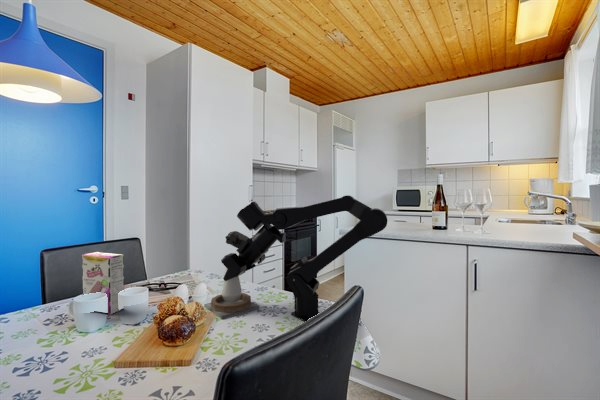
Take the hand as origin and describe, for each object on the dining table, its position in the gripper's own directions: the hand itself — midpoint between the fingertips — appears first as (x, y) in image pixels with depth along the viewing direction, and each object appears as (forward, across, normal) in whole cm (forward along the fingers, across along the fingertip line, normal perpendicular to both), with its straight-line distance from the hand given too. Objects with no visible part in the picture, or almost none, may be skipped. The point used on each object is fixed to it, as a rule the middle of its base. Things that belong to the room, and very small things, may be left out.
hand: (227, 278), depth 89 cm
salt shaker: (+4, 0, +6) cm, 7 cm away
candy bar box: (+30, +11, -18) cm, 37 cm away
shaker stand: (+5, 0, +7) cm, 9 cm away
